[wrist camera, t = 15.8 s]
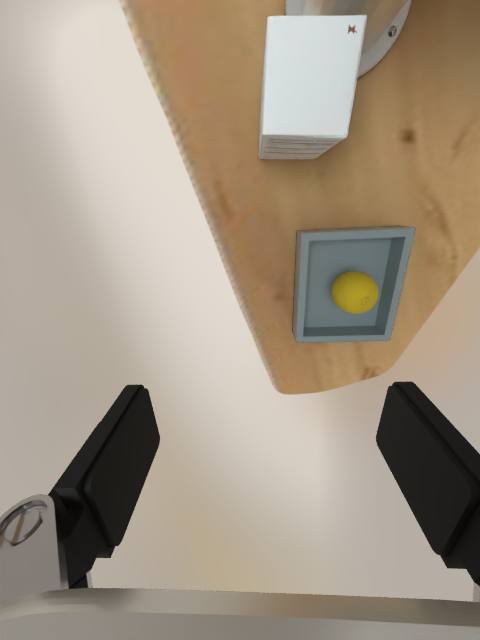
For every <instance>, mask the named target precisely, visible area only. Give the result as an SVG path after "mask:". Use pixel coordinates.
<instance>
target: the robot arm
mask: <svg viewBox="0 0 480 640" xmlns="http://www.w3.org/2000/svg"><path fill="white" fill-rule="evenodd" d="M411 2H412V0H285V16H345V15H367V21H366V26H365V32H364V38H363V44H362V50H361V56H360V63H359V69H358V77H360V76H362V75H364V74H365V73H367V72H368V71H369V70H371V69H372V68H373V67H374V66H375V65H376V64H377V63H378V62H379V61H380V60H381V59H382V58H383V57H384V56H385V54H386V53H387V52H388V51H389V49H390V48H391V47H392V45H393V44H394V42H395V41H396V39H397V37H398V36H399V34H400V32H401V30H402V27H403V25H404V23H405V21H406V18H407V15H408V12H409V9H410V5H411ZM388 34H390V37H389V35H388ZM358 77H357V78H358ZM159 442H160V435H159V432H158V427H157V424H156V419H155V416H154V411H153V407H152V404H151V400H150V396H149V392H148V389H146V388H144V386H143V385H127V386H126V387H125V388H124V389H123V391H122V392H121V393H120V395H119V396H118V398H117V399H116V401H115V402H114V404H113V405H112V406H111V408H110V409H109V411H108V412H107V413H106V415H105V416H104V418H103V419H102V421H101V422H100V423H99V424H98V425H97V427H96V428H95V429H94V431H93V432H92V433H91V435H90V436H89V438H88V439H87V440H86V442H85V443H84V445H83V446H82V448H81V449H80V451H79V452H78V453H77V455H76V456H75V457H74V459H73V460H72V462H71V463H70V465H69V466H68V468H67V469H66V470H65V472H64V473H63V474H62V476H61V477H60V479H59V480H58V482H57V483H56V484H55V486H54V487H53V489H52V490H51V492H50V493H49V494H48V495H42V494H39V495H35V496H31V497H28V498H26V499H24V500H22V501H20V502H19V503H17V504H16V505H14V506H13V507H11V508H10V509H9V510H8V511H6V512H5V513H4V514H3V515H2V516H1V517H0V640H480V454H479V453H478V452H477V451H476V450H475V449H474V447H472V445H471V444H470V443H469V442H468V441H467V440H466V439H465V438H464V437H463V436H462V435H461V433H460V432H459V431H458V430H457V429H456V428H455V427H454V426H453V425H452V424H451V423H450V421H449V420H448V419H447V418H446V417H445V416H444V415H443V414H442V413H441V412H440V411H439V409H438V408H437V407H436V406H435V405H434V404H433V403H432V402H431V401H430V400H429V399H428V398H427V396H426V395H425V394H424V393H423V392H422V391H421V390H420V389H419V388H418V387H417V386H416V384H414V383H413V382H394V383H393V385H392V386H389V387H388V390H387V395H386V399H385V403H384V407H383V411H382V415H381V419H380V423H379V427H378V431H377V435H376V442H377V445H378V447H379V449H380V451H381V453H382V455H383V457H384V459H385V461H386V462H387V464H388V466H389V468H390V470H391V472H392V474H393V476H394V478H395V480H396V481H397V483H398V485H399V487H400V489H401V491H402V493H403V495H404V497H405V498H406V500H407V502H408V504H409V506H410V508H411V510H412V512H413V514H414V516H415V518H416V520H417V521H418V523H419V525H420V527H421V529H422V531H423V533H424V535H425V537H426V538H427V540H428V542H429V544H430V546H431V548H432V549H433V551H434V552H435V553H436V554H438V555H441V558H442V559H443V561H444V563H445V565H446V567H447V568H458V569H467V571H468V572H469V574H470V576H471V578H472V579H473V581H474V591H473V602H467V601H465V602H464V601H451V600H433V599H410V598H387V597H363V596H339V595H338V596H337V595H312V594H286V593H259V592H258V593H257V592H231V591H199V590H167V589H119V588H111V589H110V588H93V586H92V580H91V574H90V570H91V569H92V566H93V564H94V562H95V559H96V558H111V555H112V553H113V550H114V548H115V546H118V545H119V544H120V543H121V541H122V539H123V537H124V534H125V531H126V529H127V526H128V524H129V521H130V519H131V516H132V513H133V511H134V508H135V506H136V503H137V501H138V498H139V495H140V493H141V490H142V487H143V485H144V482H145V480H146V477H147V475H148V472H149V470H150V467H151V464H152V462H153V459H154V457H155V454H156V451H157V449H158V446H159Z"/></svg>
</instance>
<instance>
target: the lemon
mask: <svg viewBox="0 0 480 640" xmlns="http://www.w3.org/2000/svg"><path fill="white" fill-rule="evenodd" d="M331 295H332V298H333V301H334V302H335V304H336V305H337V306H338V307H339V308H340V309H342V310H343V311H346V312H348V313H352V314H361V313H365V312H367V311H369V310H370V309H372V308H373V307H374V305H375V304H376V302H377V300H378V297H379V290H378V287H377V284H376V283H375V281H374V280H373V279H372V278H371V277H370V276H369V275H367V274H365V273H363V272H359V271H349V272H345V273H343V274H341V275H340V276H339V277H337V279H336V280H335V281H334V283H333V285H332V289H331Z"/></svg>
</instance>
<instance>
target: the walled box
mask: <svg viewBox="0 0 480 640" xmlns="http://www.w3.org/2000/svg"><path fill="white" fill-rule="evenodd" d="M415 230H416V228H412V227H404V226H382V227H361V228H339V229H317V230H297V234H296V257H295V280H294V303H293V326H292V332H293V335H294V338H295V341H296V343H304V342H352V341H390V339H391V334H392V330H393V325H394V321H395V317H396V312H397V308H398V304H399V299H400V295H401V291H402V286H403V282H404V278H405V273H406V269H407V264H408V260H409V256H410V251H411V247H412V243H413V238H414V234H415ZM349 271H359V272H363V273H365V274H367V275H369V276H370V277H371V278H372V279H373V280H374V281H375V283H376V284H377V287H378V290H379V297H378V300H377V302H376V304H375V305H374V307H373V308H372V309H370V310H369V311H367V312H365V313H361V314H352V313H348V312H346V311H343V310H342V309H340V308H339V307H338V306H337V305H336V304H335V302H334V301H333V298H332V295H331V289H332V285H333V283H334V281H335V280H336V279H337V277H339V276H340V275H341V274H343V273H345V272H349Z"/></svg>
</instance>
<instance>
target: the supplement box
mask: <svg viewBox="0 0 480 640" xmlns="http://www.w3.org/2000/svg"><path fill="white" fill-rule="evenodd" d="M366 21H367V15H345V16H269V17H268V19H267V28H266V39H265V51H264V64H263V77H262V90H261V108H260V134H259V159H300V160H314V159H315V158H317V157H318V156H320V155H321V154H323V153H324V152H326V151H327V150H329V149H330V148H331V147H333V146H334V145H336V144H337V143H339V142H340V141H342V140H343V139H345V138H346V137H347V135H348V131H349V125H350V118H351V112H352V106H353V100H354V93H355V88H356V82H357V77H358V69H359V63H360V56H361V50H362V44H363V38H364V32H365V26H366Z"/></svg>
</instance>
